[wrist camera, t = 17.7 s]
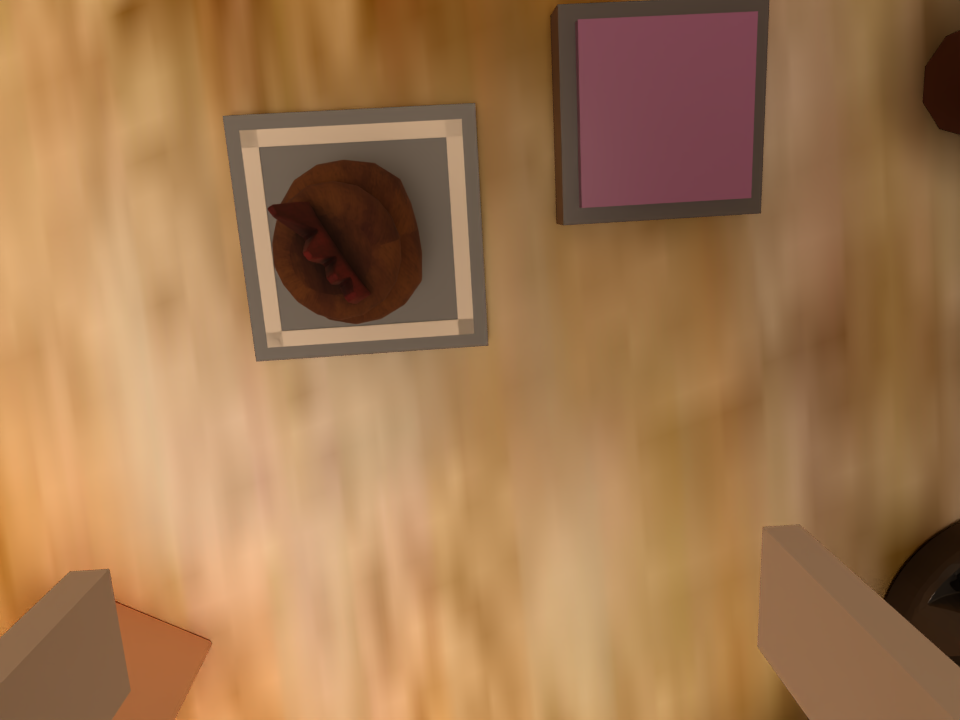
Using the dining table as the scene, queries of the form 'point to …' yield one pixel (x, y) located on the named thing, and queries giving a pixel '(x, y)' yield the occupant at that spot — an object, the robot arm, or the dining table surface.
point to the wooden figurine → (347, 241)
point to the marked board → (435, 201)
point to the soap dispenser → (157, 665)
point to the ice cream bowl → (944, 84)
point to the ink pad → (658, 109)
